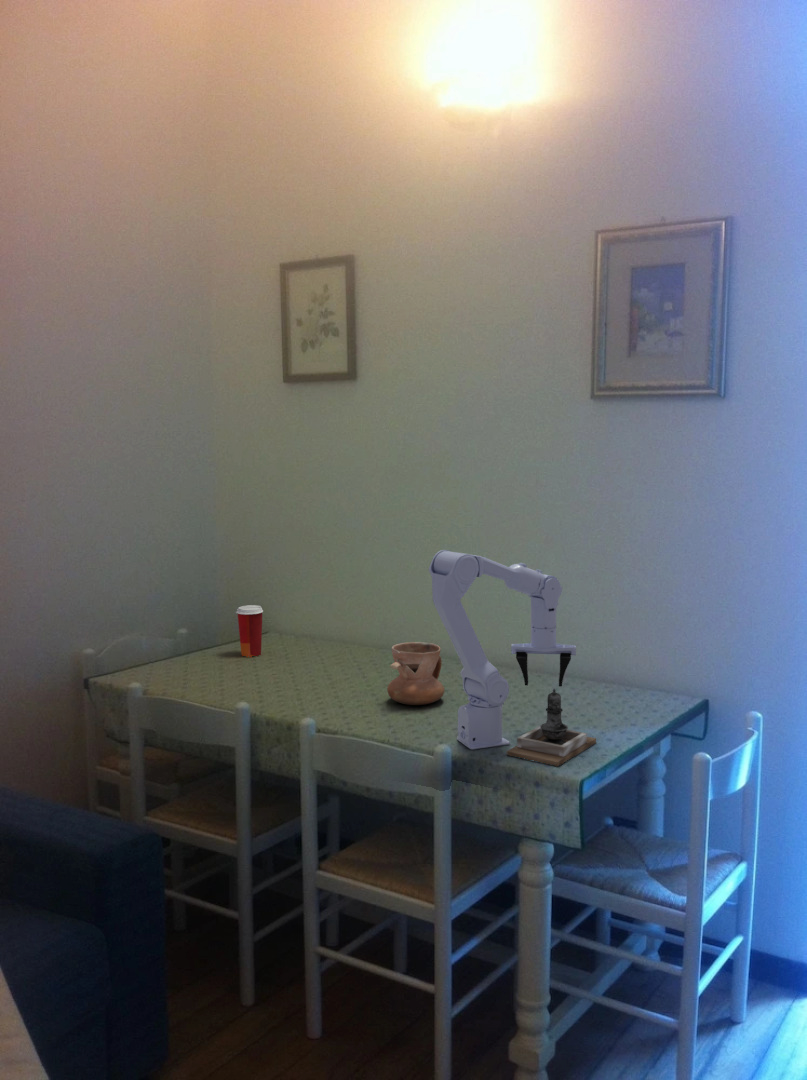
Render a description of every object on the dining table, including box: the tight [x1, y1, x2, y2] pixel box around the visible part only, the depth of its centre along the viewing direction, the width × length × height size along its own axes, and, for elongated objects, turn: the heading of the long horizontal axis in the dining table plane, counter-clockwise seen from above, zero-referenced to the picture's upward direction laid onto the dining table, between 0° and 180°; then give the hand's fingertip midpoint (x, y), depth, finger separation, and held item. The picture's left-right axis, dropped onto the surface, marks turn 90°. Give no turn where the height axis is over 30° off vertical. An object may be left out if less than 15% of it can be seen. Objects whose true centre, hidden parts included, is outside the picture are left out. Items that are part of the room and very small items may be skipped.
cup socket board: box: [506, 724, 597, 767], centre depth 208 cm, size 18×12×3 cm, turn 144°
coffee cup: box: [235, 604, 264, 658], centre depth 297 cm, size 8×8×15 cm
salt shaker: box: [540, 688, 569, 745], centre depth 208 cm, size 6×6×12 cm
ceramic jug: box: [386, 641, 445, 706], centre depth 245 cm, size 18×14×14 cm
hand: (543, 684), depth 220 cm, fingers open, 7 cm apart
